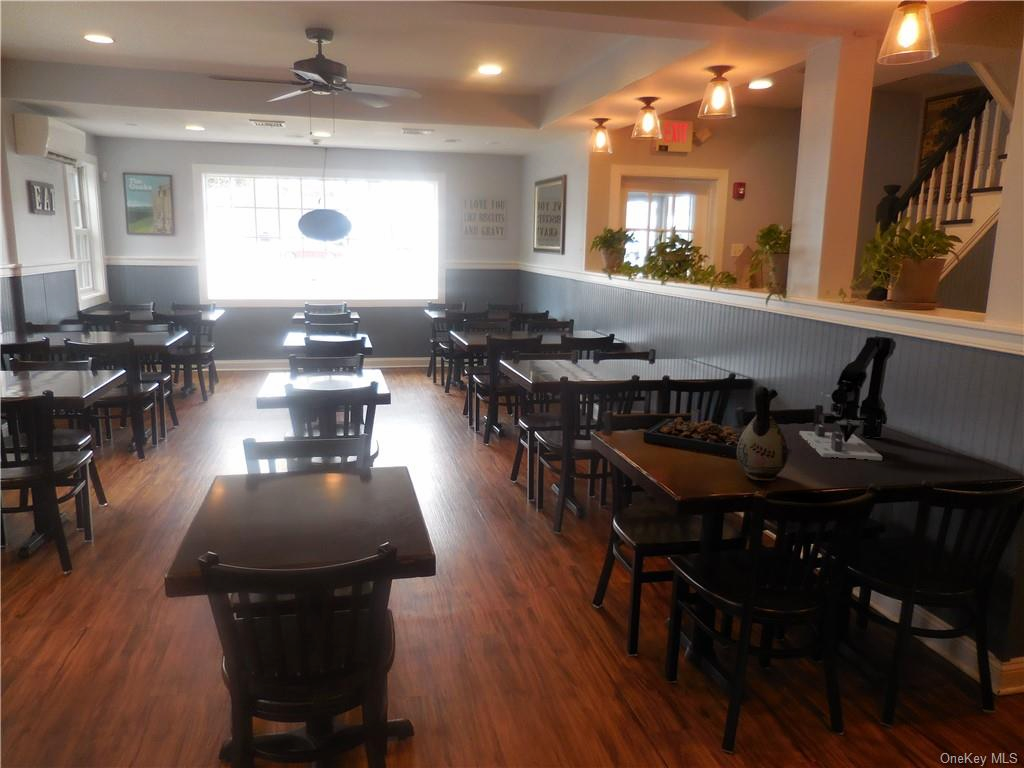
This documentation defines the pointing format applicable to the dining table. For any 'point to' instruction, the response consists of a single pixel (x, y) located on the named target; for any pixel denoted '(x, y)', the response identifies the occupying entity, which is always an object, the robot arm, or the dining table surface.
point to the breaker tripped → (837, 435)
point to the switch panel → (849, 448)
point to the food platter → (695, 436)
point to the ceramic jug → (762, 441)
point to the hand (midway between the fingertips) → (845, 441)
